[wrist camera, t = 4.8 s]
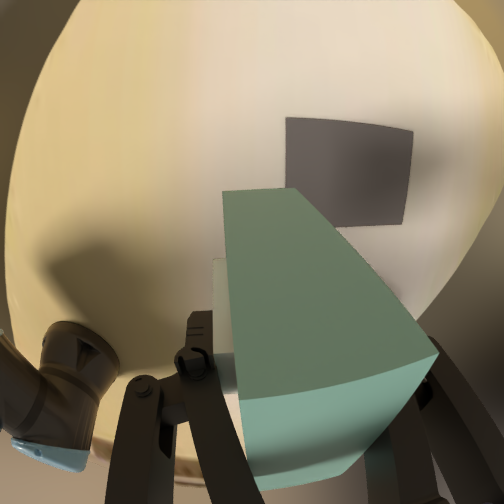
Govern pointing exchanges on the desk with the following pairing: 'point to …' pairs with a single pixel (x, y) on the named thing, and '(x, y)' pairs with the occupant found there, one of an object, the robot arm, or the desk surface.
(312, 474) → the block
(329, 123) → the mat
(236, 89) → the desk surface
